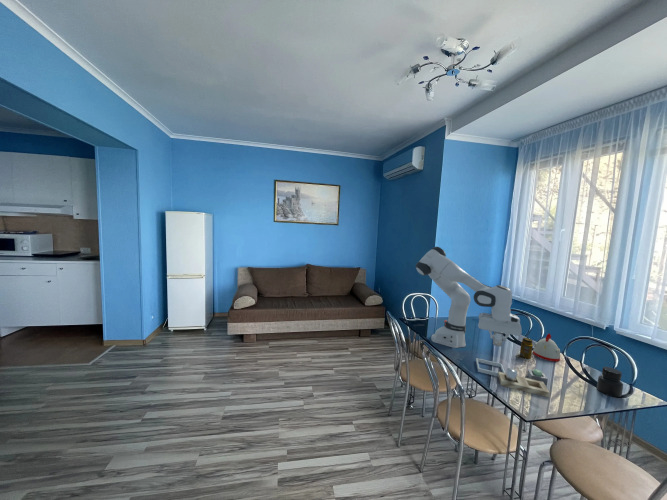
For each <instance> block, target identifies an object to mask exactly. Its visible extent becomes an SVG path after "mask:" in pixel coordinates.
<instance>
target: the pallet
mask: <svg viewBox="0 0 667 500" xmlns="http://www.w3.org/2000/svg"><path fill="white" fill-rule="evenodd" d="M506 374H507V372H505V373H502V371H498V376H497V378H498V380H499V383H500V386H502V387H506V388H509V389H514V390H517V391H522V392H526V393H530V394H534V395H538V396H541V397H542V396H543V397H546V398H550V394H551V393H550V391H549V389H548V387H547V385H545V384H544V383H543V382H541V381H537V380H533V379H529V377H524V376H520V375H517V377H516V382H512V381H508V380H506Z"/></svg>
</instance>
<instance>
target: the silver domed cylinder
mask: <svg viewBox="0 0 667 500" xmlns="http://www.w3.org/2000/svg"><path fill="white" fill-rule="evenodd" d="M506 373H507V374H506V380H508V381H512V382H516V377H517V376H518V371H517V369H514V368H511V367H508V368H507V369H506Z"/></svg>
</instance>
